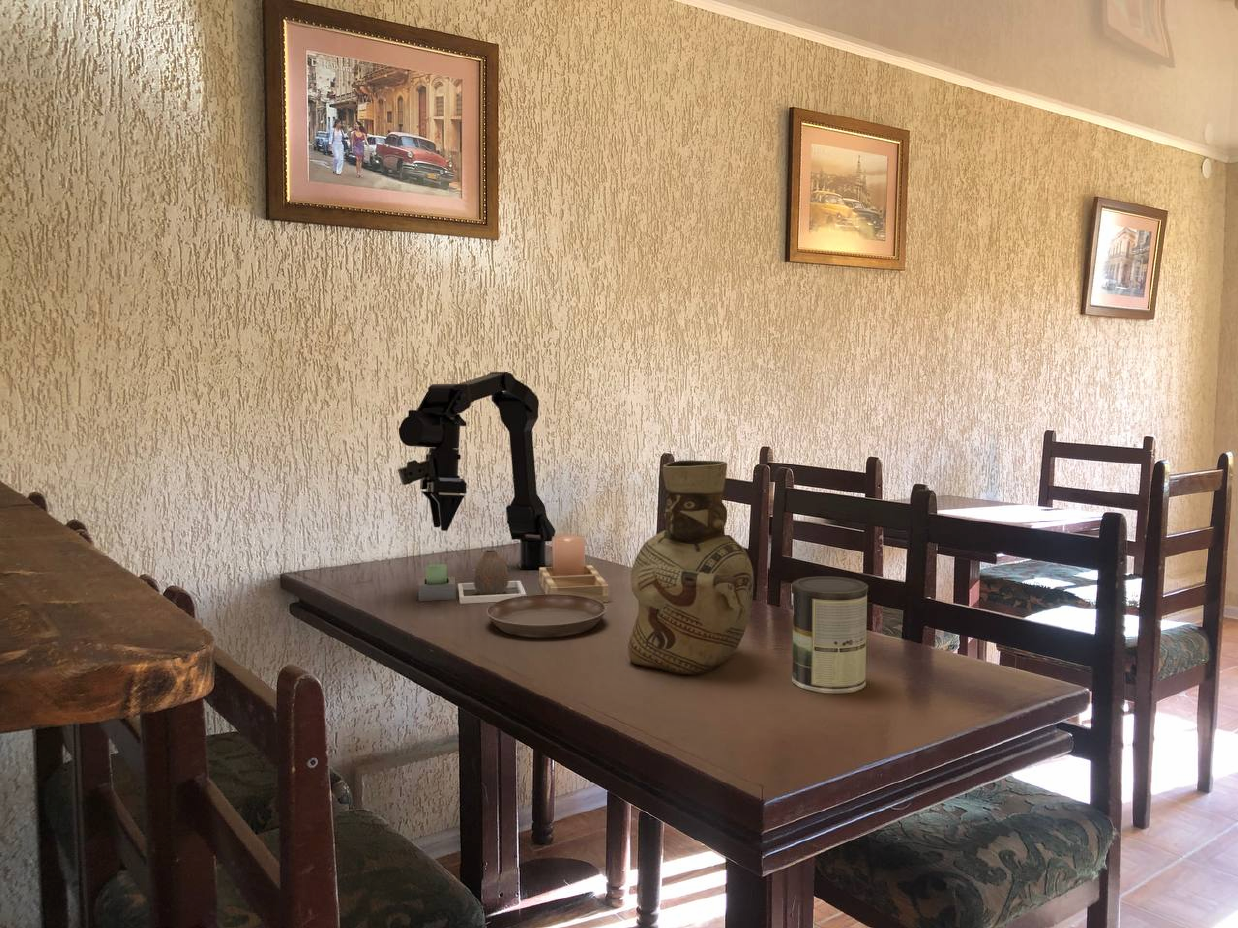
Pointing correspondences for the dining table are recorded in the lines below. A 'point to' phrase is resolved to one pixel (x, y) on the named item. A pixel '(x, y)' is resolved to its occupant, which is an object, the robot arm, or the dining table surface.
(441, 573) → the button
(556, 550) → the block
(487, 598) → the white square frame
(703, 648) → the ceramic vessel
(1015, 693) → the dining table surface
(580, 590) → the pallet
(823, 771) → the dining table surface
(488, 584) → the vase
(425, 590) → the button housing
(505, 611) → the plant saucer
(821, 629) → the coffee can
